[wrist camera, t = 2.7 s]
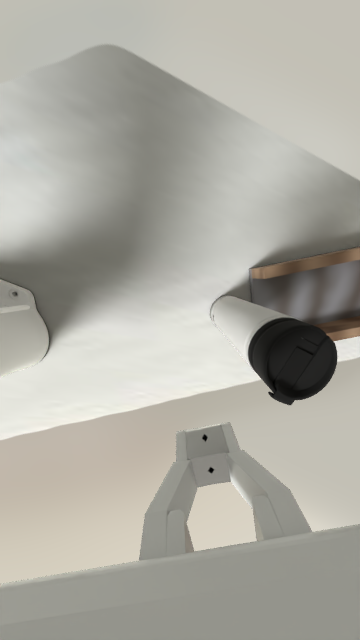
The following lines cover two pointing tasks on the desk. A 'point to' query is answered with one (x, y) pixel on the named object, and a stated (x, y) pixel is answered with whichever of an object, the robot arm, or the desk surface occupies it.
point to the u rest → (314, 291)
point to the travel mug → (277, 347)
